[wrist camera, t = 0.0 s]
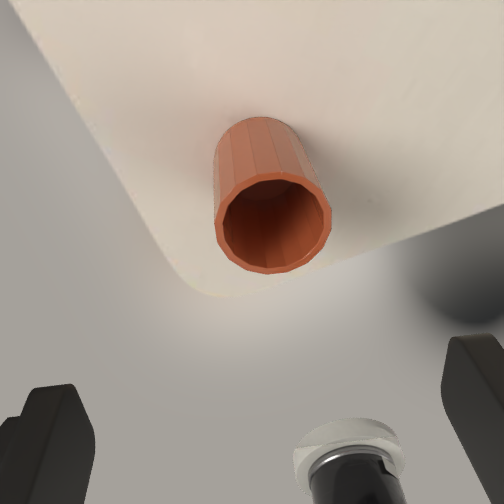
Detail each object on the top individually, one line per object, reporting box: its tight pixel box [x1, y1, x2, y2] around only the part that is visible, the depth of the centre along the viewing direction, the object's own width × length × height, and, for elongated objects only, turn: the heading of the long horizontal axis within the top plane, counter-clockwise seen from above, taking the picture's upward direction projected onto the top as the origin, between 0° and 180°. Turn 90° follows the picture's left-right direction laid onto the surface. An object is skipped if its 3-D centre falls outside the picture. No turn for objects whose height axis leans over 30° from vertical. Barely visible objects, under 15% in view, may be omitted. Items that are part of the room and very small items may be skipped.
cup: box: [213, 117, 331, 274], centre depth 27 cm, size 6×6×8 cm
